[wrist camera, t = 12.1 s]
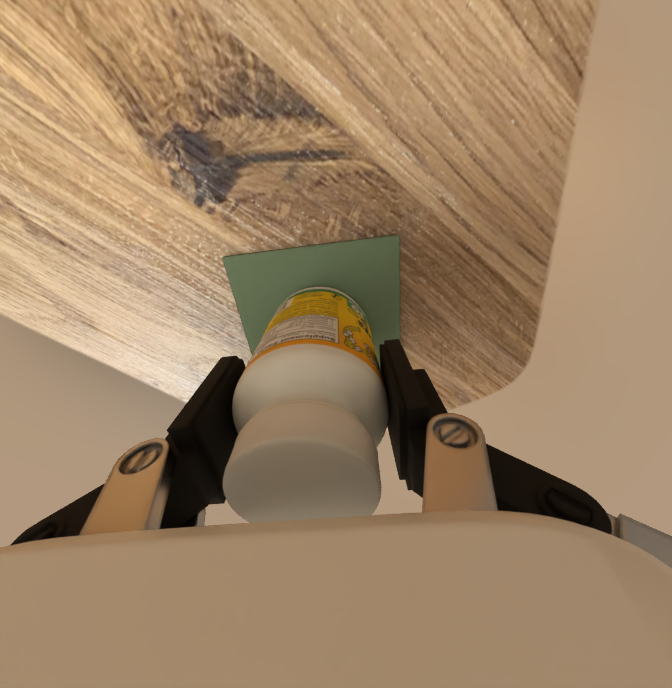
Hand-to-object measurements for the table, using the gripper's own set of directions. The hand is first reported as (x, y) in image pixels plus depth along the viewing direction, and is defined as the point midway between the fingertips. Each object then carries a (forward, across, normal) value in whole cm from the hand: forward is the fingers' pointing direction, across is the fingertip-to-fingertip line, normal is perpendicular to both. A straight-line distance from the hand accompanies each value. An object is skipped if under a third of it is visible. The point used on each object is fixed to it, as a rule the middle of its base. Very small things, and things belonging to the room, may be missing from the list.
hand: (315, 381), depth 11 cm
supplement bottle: (+5, 0, 0) cm, 5 cm away
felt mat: (+6, 0, 0) cm, 6 cm away
